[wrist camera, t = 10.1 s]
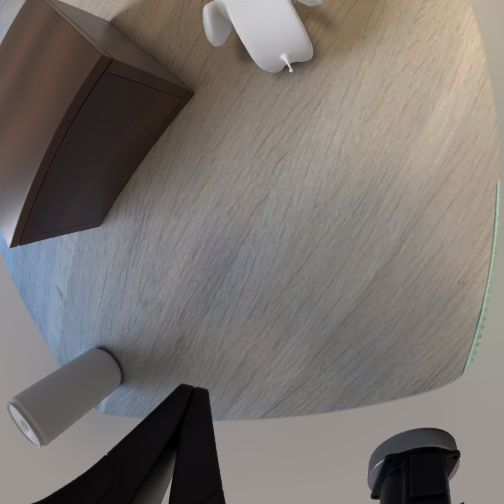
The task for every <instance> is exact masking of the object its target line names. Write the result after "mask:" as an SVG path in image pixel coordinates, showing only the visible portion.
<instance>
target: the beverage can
mask: <svg viewBox="0 0 504 504" xmlns="http://www.w3.org/2000/svg"><path fill="white" fill-rule="evenodd" d="M120 381H121V371H120V368H119V366H118V364H117V362H116V361H115V359H114V358H113V357H112V356H111V355H110V354H109V353H108V352H106V351H104V350H101V349H95V348H92V349H90V350H88V351H86V352H85V353H83V354H81V355H80V356H78V357H77V358H75V359H73V360H72V361H70V362H69V363H67V364H65V365H64V366H62V367H61V368H59V369H57V370H56V371H54V372H53V373H51V374H49V375H48V376H46V377H45V378H43V379H41V380H40V381H38V382H37V383H35V384H34V385H32V386H30V387H29V388H27V389H26V390H24V391H22V392H21V393H19V394H18V395H16V396H15V397H13V398H12V399H11V402H8V403H7V410H8V412H9V414H10V416H11V418H12V420H13V422H14V423H15V425H16V426H17V428H18V429H19V430H20V432H21V433H22V434H23V436H24V437H25V438H26V439H27V440H28V441H29V442H30V443H31V444H32V445H34V446H35V447H37V448H41V446H42V445H47V444H49V443H50V442H51V441H52V440H54V439H55V438H56V437H57V436H59V435H60V434H61V433H63V432H64V431H65V430H66V429H68V428H69V427H70V426H71V425H72V424H74V423H75V422H76V421H77V420H78V419H80V418H81V417H82V416H84V415H85V414H86V413H87V412H88V411H89V410H91V409H92V408H93V407H95V406H96V405H97V404H98V403H99V402H101V401H102V400H103V399H104V398H106V397H107V396H108V395H109V394H110V393H112V392H113V391H114V390H115V389H117V388H118V386H119V385H120Z"/></svg>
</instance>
